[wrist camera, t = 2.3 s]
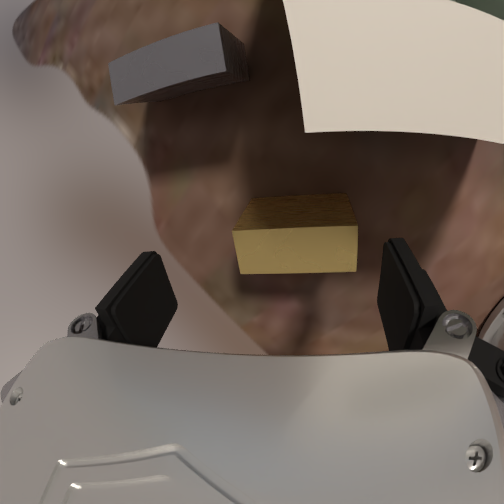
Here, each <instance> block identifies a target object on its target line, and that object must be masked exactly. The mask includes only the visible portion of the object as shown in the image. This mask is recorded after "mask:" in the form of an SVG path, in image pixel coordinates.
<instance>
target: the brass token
mask: <svg viewBox="0 0 504 504" xmlns="http://www.w3.org/2000/svg"><path fill="white" fill-rule="evenodd" d="M232 233H233V238H234V244H235V249H236V254H237V259H238V264H239V269H240V274H280V273H325V272H356V268H357V248H358V224H357V221H356V218H355V215H354V213H353V210H352V207H351V204H350V202H349V199H348V196H347V194H346V193H341V194H316V195H296V196H279V197H265V198H252V199H251V201H250V203H249V204H248V206H247V208H246V209H245V211H244V212H243V214H242V216H241V217H240V219H239V220H238V222H237V224H236V225H235V227H234V229H233V230H232Z"/></svg>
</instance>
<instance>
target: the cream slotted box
mask: <svg viewBox="0 0 504 504" xmlns="http://www.w3.org/2000/svg"><path fill="white" fill-rule="evenodd" d="M283 3H284V7H285V12H286V17H287V22H288V26H289V32H290V37H291V42H292V47H293V53H294V59H295V65H296V71H297V77H298V84H299V90H300V97H301V104H302V112H303V120H304V128H305V133H311V132H331V131H396V132H416V133H429V134H440V135H450V136H458V137H466V138H473V139H480V140H486V141H492V142H497V143H502V144H504V0H283Z"/></svg>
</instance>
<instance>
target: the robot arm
mask: <svg viewBox="0 0 504 504" xmlns="http://www.w3.org/2000/svg"><path fill="white" fill-rule="evenodd" d="M377 303H378V308H379V312H380V315H381V319H382V323H383V327H384V331H385V335H386V339H387V343H388V347H389V351H382V352H365V353H350V354H328V355H245V354H226V353H210V352H197V351H185V350H175V349H165V348H157V346H158V344H159V342H160V340H161V338H162V336H163V335H164V333H165V331H166V329H167V327H168V325H169V323H170V321H171V319H172V317H173V315H174V314H175V312H176V310H177V305H178V304H177V300H176V298H175V295H174V292H173V290H172V287H171V284H170V281H169V279H168V276H167V273H166V270H165V268H164V265H163V262H162V259H161V256H160V255H159V254H157V253H156V252H155V251H150V252H143V253H141V255H140V256H139V257H138V258H137V259H136V260H135V261H134V262H133V264H132V265H131V266H130V267H129V268H128V269H127V271H126V272H125V273H124V274H123V275H122V276H121V277H120V279H119V280H118V281H117V282H116V283H115V284H114V286H113V287H112V288H111V289H110V291H109V292H108V293H107V294H106V295H105V296H104V298H103V299H102V300H101V301H100V303H99V304H98V305H97V307H96V308H95V309H96V311H97V313H98V317H97V318H96V316H95V315H94V314H92V313H86V314H82V315H80V316H78V317H77V318H75V319H74V320H73V321H72V322H71V324H70V325H69V327H68V336H67V337H63V338H59V339H55V340H52V341H50V342H47V343H46V344H44V345H43V346H42V347H41V348H40V349H39V350H38V351H37V353H36V354H35V355H34V356H33V357H32V359H31V360H30V361H29V363H28V364H27V365H26V367H25V368H24V369H23V370H22V371H21V372H20V373H18V374H17V375H16V376H15V377H13V378H12V379H11V380H10V381H9V382H7V383H6V384H5V385H4V387H3V388H2V391H1V400H2V405H1V407H0V504H504V299H503V300H502V301H501V302H500V303H499V304H498V305H497V307H496V308H495V309H494V310H493V312H492V313H491V315H490V316H489V318H488V319H487V321H486V322H485V324H484V326H483V328H482V330H481V332H480V334H479V337H477V336H476V331H477V328H476V324H475V322H474V320H473V319H472V318H471V317H470V316H469V315H467V314H466V313H464V312H461V311H458V310H450V311H447V310H446V308H445V306H444V304H443V302H442V300H441V298H440V296H439V294H438V292H437V290H436V288H435V287H434V285H433V283H432V281H431V279H430V278H429V276H428V274H427V272H426V271H425V270H423V269H422V268H421V267H420V265H419V263H418V262H417V260H416V258H415V256H414V255H413V253H412V251H411V250H410V248H409V247H408V245H407V243H406V242H405V240H404V239H403V238H390V239H389V240H388V242H385V243H384V247H383V257H382V267H381V275H380V283H379V290H378V297H377Z"/></svg>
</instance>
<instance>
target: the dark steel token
mask: <svg viewBox="0 0 504 504" xmlns="http://www.w3.org/2000/svg"><path fill="white" fill-rule="evenodd" d="M109 71H110V78H111V85H112V92H113V98H114V103H115V105H122V104H132V103H143V102H158V101H164V100H167V99H170V98H174V97H177V96H181V95H185V94H189V93H193V92H197V91H201V90H205V89H209V88H214V87H219V86H223V85H228V84H234V83H239V82H245V81H250V77H249V71H248V65H247V60H246V54H245V48H244V44H243V43H242V42H241V41H240V40H239V39H237V38H236V37H235V36H234V35H233V34H232V33H230V32H229V31H228V30H227V29H225V28H224V27H223V26H222V25H221V24H219V23H214V24H210V25H206V26H203V27H199V28H196V29H192V30H189V31H186V32H183V33H180V34H177V35H174V36H171V37H168V38H165V39H163V40H160V41H157V42H155V43H152V44H150V45H147V46H145V47H142V48H140V49H138V50H135V51H133V52H131V53H129V54H126V55H124V56H122V57H120V58H118V59H116V60H114V61H112V62H110V63H109Z"/></svg>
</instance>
